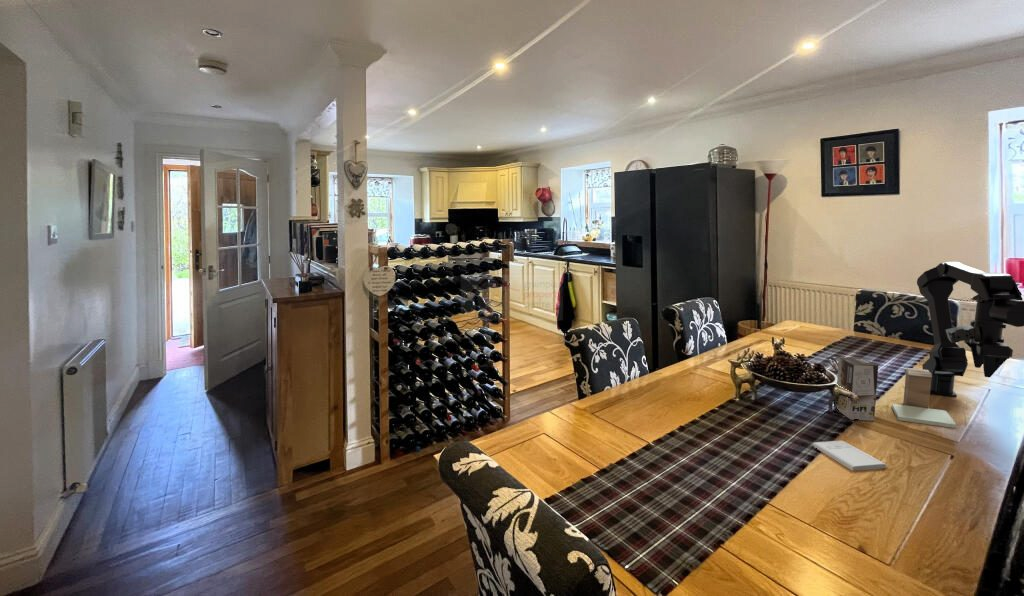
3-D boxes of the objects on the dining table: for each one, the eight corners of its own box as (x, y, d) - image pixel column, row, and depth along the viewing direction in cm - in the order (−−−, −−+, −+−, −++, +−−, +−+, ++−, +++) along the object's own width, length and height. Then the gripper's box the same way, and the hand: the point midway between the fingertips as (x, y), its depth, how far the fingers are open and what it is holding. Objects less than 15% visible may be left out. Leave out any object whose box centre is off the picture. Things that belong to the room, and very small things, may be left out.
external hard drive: (852, 473, 105) (812, 448, 117) (886, 470, 106) (843, 445, 118) (852, 466, 105) (812, 442, 117) (886, 463, 106) (843, 439, 118)
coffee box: (875, 421, 131) (879, 365, 128) (849, 420, 132) (853, 364, 130) (858, 409, 140) (862, 356, 137) (834, 408, 141) (837, 356, 139)
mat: (891, 406, 140) (892, 403, 140) (945, 413, 134) (945, 410, 134) (898, 419, 131) (898, 416, 131) (955, 428, 125) (956, 424, 124)
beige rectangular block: (903, 402, 143) (906, 367, 142) (924, 405, 141) (927, 369, 139) (906, 407, 139) (909, 372, 138) (928, 410, 136) (931, 374, 135)
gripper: (942, 310, 142) (937, 359, 145) (958, 323, 127) (952, 378, 129) (993, 313, 136) (986, 364, 139) (1017, 326, 121) (1008, 384, 123)
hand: (982, 372), depth 133 cm, fingers open, 9 cm apart
